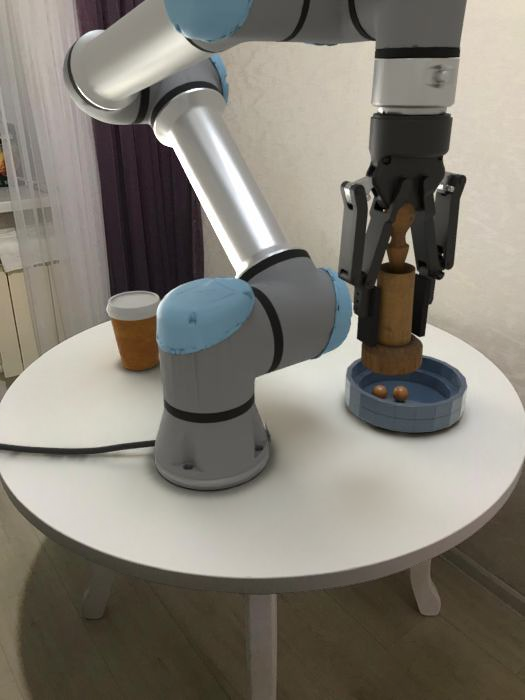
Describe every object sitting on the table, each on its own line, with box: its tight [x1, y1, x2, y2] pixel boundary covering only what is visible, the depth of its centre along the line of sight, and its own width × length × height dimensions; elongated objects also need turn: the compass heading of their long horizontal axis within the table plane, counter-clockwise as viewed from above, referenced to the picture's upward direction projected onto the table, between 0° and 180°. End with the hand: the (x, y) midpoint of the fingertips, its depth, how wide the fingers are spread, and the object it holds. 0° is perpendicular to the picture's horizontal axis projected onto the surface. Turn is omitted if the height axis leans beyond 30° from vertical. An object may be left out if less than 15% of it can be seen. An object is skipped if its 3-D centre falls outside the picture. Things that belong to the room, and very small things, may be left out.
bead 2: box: [393, 386, 409, 402], centre depth 90 cm, size 2×2×2 cm
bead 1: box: [372, 385, 388, 399], centre depth 90 cm, size 2×2×2 cm
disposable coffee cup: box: [105, 290, 162, 371], centre depth 102 cm, size 10×10×12 cm
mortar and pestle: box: [360, 202, 424, 375], centre depth 62 cm, size 7×6×18 cm
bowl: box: [344, 354, 468, 434], centre depth 90 cm, size 18×18×5 cm
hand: (390, 337), depth 65 cm, fingers closed on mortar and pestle, 6 cm apart
